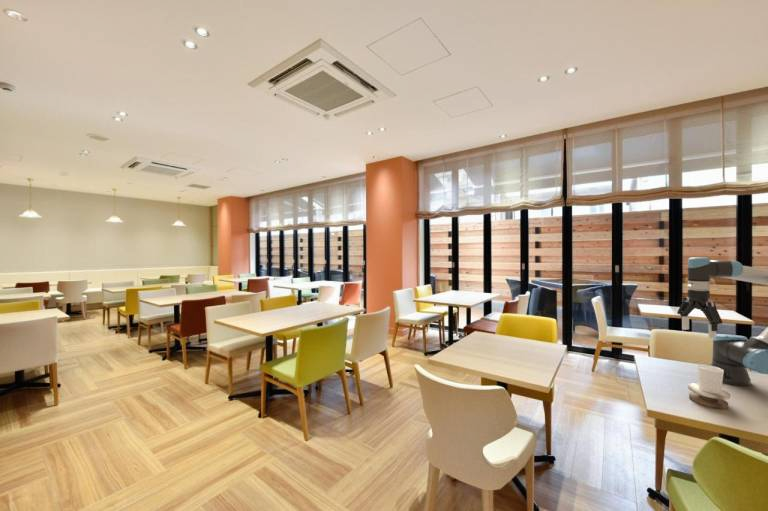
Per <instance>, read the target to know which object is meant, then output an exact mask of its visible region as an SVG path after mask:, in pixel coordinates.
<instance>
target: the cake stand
mask: <svg viewBox="0 0 768 511" xmlns="http://www.w3.org/2000/svg"><path fill="white" fill-rule="evenodd" d="M687 388H688V390H689V391H691V392H689V395H688V397H689V398H688V399H689V400H690V401H692V402H693V403H696V404H698V405H701V406H704V407H706V408H711V409H715V410H728V408H729V402H728V401H727V400H730V399H731V393H729V392H728V391H727V390H725V389H723V388H721V393H719V394H714V393H709V392H706V391H703V390H701V389H700V388H699V382H695V383H694V382H692V383H688V384H687Z"/></svg>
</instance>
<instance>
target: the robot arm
mask: <svg viewBox="0 0 768 511" xmlns="http://www.w3.org/2000/svg"><path fill="white" fill-rule="evenodd" d="M686 267H687V296H685V297H682V302H681V304H680V306H679V308H678V310H677V311H676V312H677V314H678V315H680V317H681V318H680V319H681V330H683V331H686V330H690V316H689V315H690V314H691V313H692V311H694V310H695V309H697V310H699V311H701V312H703V314H704V316H705V317H706V319H707V320H708V322H709V323H708V331H707V332H708V339H709V338H710V339H712V359H711V363H710V366H715V367H718V368H721V369H723V370H724V374H723V382H722V384H723V383H724V384H728V385H732V386H738V387H740V386H741V387H748V386H750V385H751V382H752V380H751V377H750V375H749V372H748V370H749V371H752V372H756V373H759V374H763V375H768V326H767V327H766V328H765V329H764V330H763V331H762V332H761V333H760V334H758V336H750V337H749V339H748V337H747V336H743V335H737V334H729V333H728V334H727V333H717V332H718V325H720V324H723V319H722V317H721V316H720V314H719V311H718V309H717V305H716V302H715V301H709V299H710V297H711V292H710V289H711V278H723V279H724V278H725V279H729V280H730V279H731V280H735V281H742V282H747V283H753V284H757V285H758V284H759V285H764V286H768V269H765V268H761V267H759V268H758V267H755V266H754V267H753V266H748V265H743V264H742V263H741V262H739V261H737V260H716V259H715V260H713V259H710V257H708V256H707V257H705V256H703V257H702V256H701V257H700V256H699V257H697V256H695V257H693V256H692V257H689V258H688V260H687V266H686ZM747 369H748V370H747Z"/></svg>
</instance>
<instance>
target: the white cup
mask: <svg viewBox="0 0 768 511" xmlns="http://www.w3.org/2000/svg"><path fill="white" fill-rule="evenodd" d="M710 365H711V364H710ZM710 365H709V364H698V365H697V379H698V382H697V383H699V388H700V389H701V390H703V391H706V392H709V393H714V394H719V393H721V389H722V387H723V374H724V370H723V369H721V368H718V367H715V366H710Z"/></svg>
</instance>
